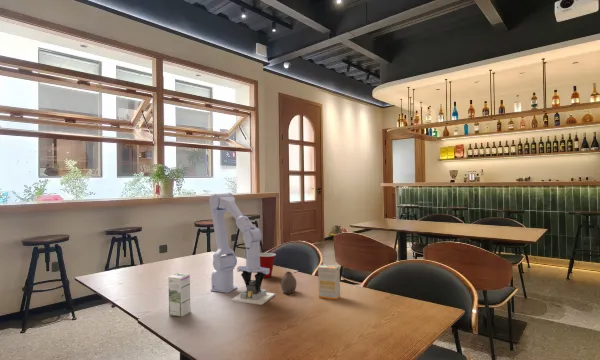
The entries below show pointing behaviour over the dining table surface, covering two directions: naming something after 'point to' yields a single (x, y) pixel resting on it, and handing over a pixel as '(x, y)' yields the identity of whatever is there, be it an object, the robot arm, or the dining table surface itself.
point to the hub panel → (254, 297)
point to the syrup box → (179, 294)
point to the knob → (252, 288)
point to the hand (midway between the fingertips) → (253, 289)
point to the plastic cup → (267, 262)
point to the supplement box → (329, 281)
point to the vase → (288, 283)
